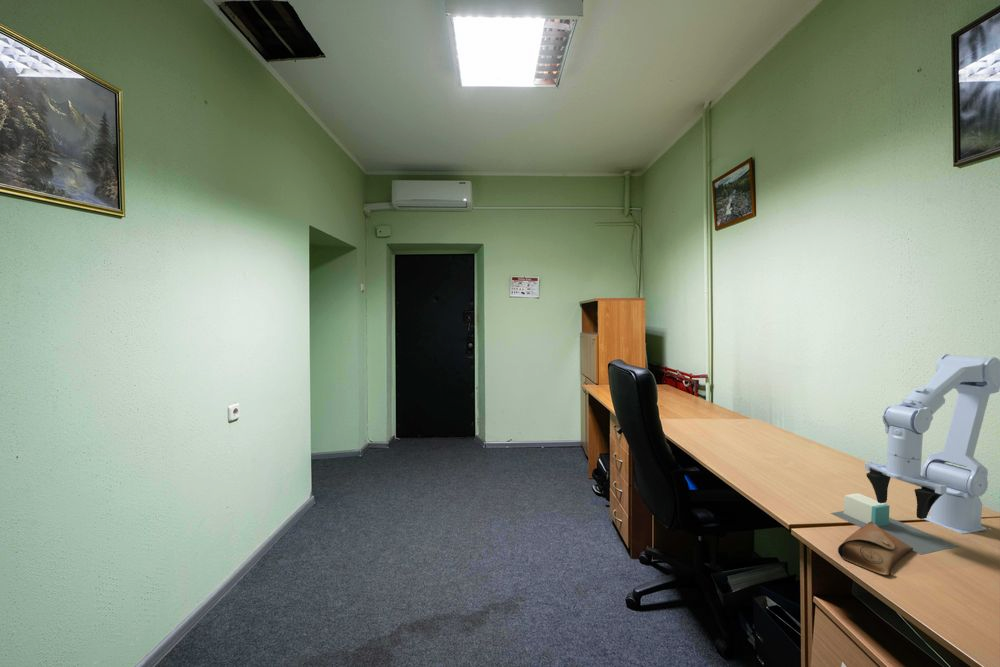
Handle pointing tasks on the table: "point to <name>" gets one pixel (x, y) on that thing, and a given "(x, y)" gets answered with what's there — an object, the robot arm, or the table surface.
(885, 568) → the sunglasses case
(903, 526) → the rubber mat
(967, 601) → the table surface
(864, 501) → the cream block
